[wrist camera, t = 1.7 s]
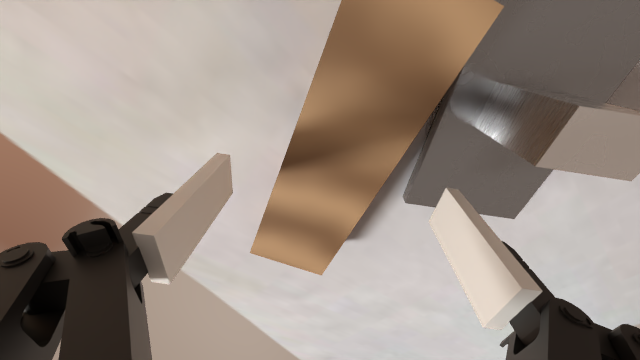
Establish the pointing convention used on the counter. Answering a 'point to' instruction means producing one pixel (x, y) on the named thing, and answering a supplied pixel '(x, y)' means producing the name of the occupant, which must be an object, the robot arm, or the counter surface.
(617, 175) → the fulcrum
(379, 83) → the board
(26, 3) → the counter surface
